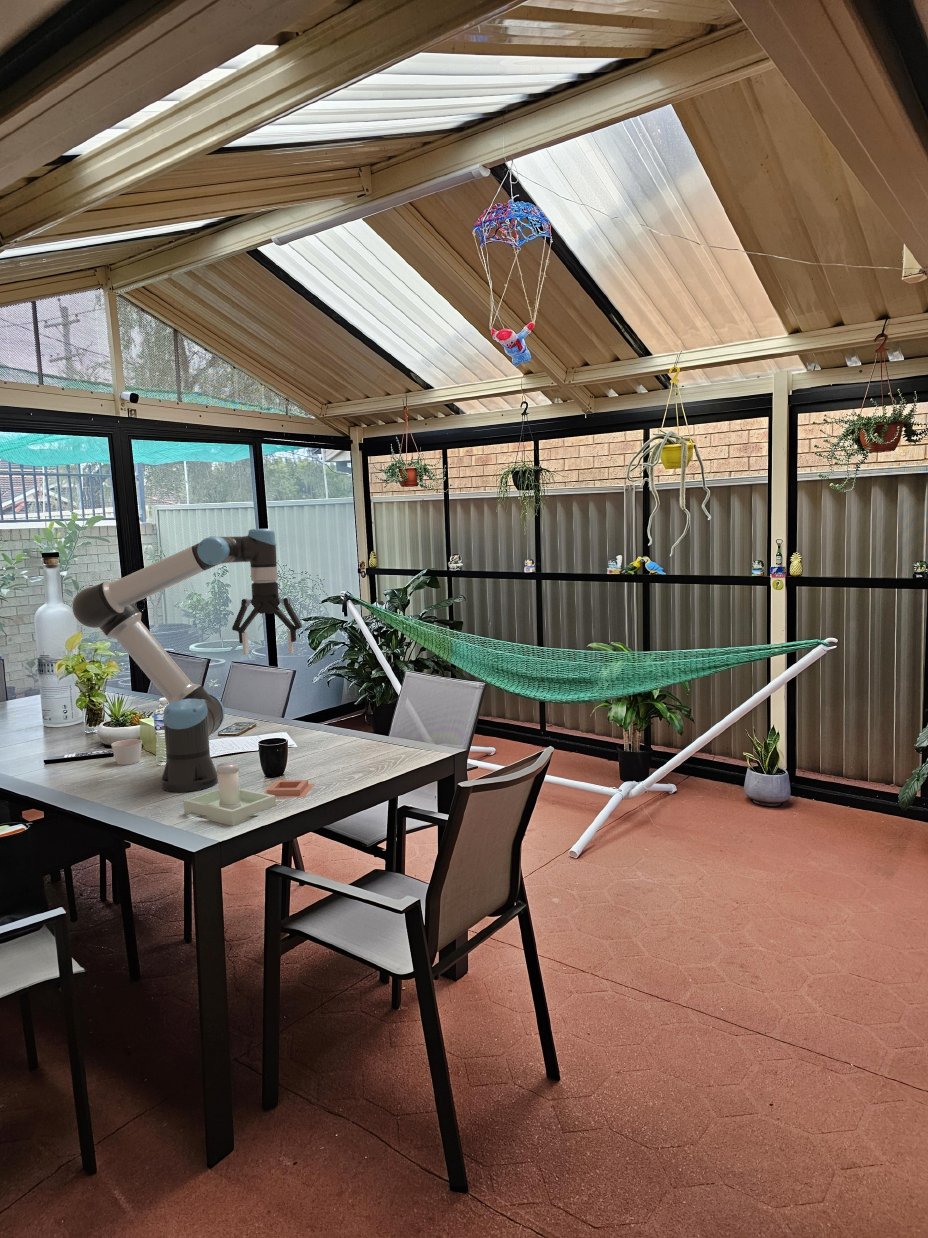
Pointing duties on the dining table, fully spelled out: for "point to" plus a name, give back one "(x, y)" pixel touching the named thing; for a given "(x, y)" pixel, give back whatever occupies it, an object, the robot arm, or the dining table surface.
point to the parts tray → (213, 812)
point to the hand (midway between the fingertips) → (268, 653)
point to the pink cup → (127, 751)
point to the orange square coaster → (289, 788)
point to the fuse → (228, 785)
